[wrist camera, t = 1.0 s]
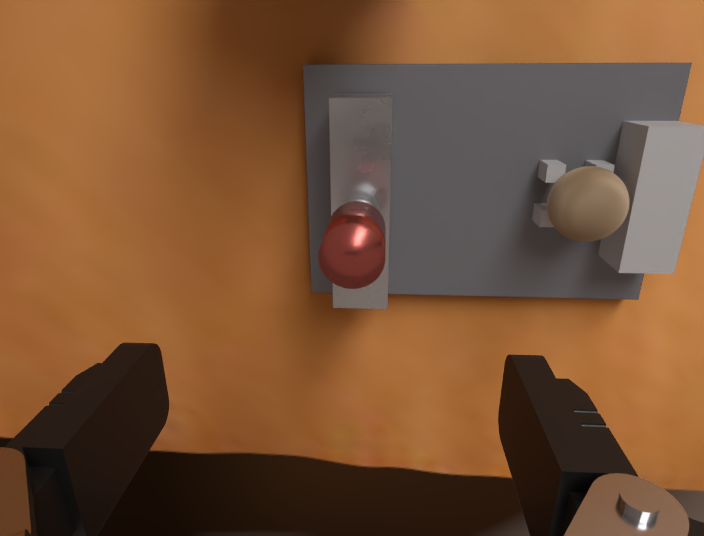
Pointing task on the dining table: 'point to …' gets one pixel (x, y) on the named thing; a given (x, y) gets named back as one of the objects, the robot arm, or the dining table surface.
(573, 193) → the tan ball
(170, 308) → the dining table surface
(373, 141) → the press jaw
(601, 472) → the robot arm
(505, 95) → the nutcracker bench
